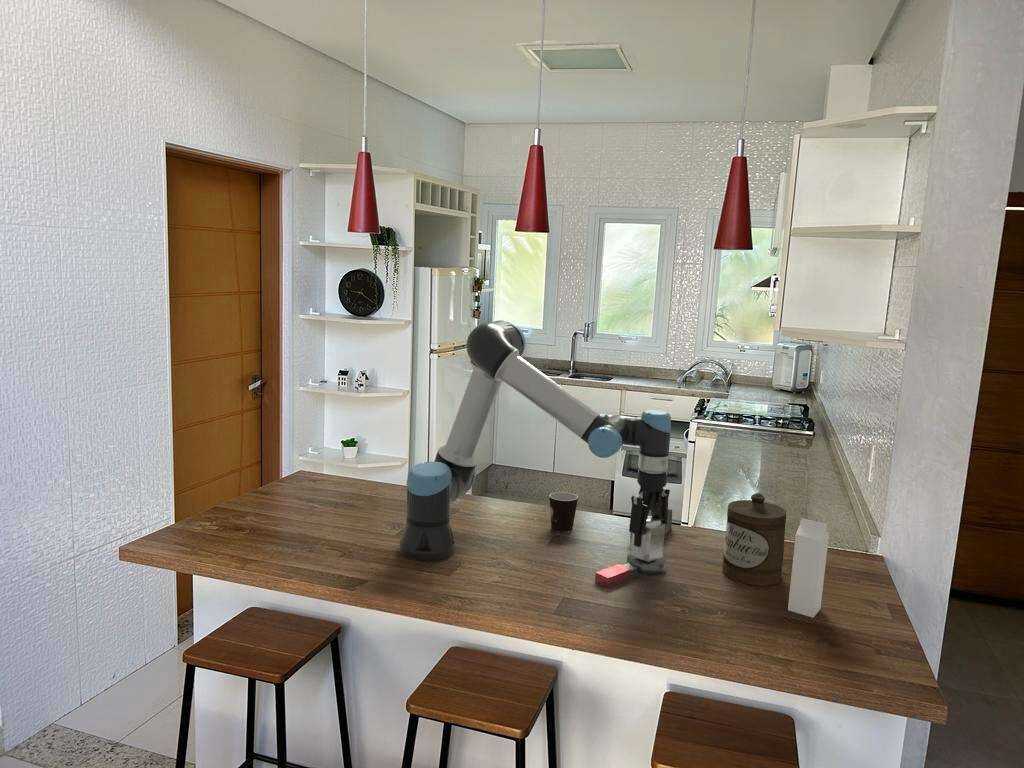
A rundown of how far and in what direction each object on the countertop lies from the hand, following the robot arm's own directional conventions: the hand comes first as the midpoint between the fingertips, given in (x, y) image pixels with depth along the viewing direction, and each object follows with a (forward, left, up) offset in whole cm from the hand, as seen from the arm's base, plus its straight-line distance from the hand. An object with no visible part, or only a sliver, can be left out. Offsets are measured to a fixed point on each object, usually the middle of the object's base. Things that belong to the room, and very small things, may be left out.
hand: (646, 554), depth 201 cm
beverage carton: (+21, +14, -4) cm, 26 cm away
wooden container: (+19, -20, -4) cm, 28 cm away
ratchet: (-7, 0, -4) cm, 7 cm away
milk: (+10, -39, -4) cm, 40 cm away
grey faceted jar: (0, 0, 0) cm, 0 cm away
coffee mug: (+5, +35, -4) cm, 36 cm away
